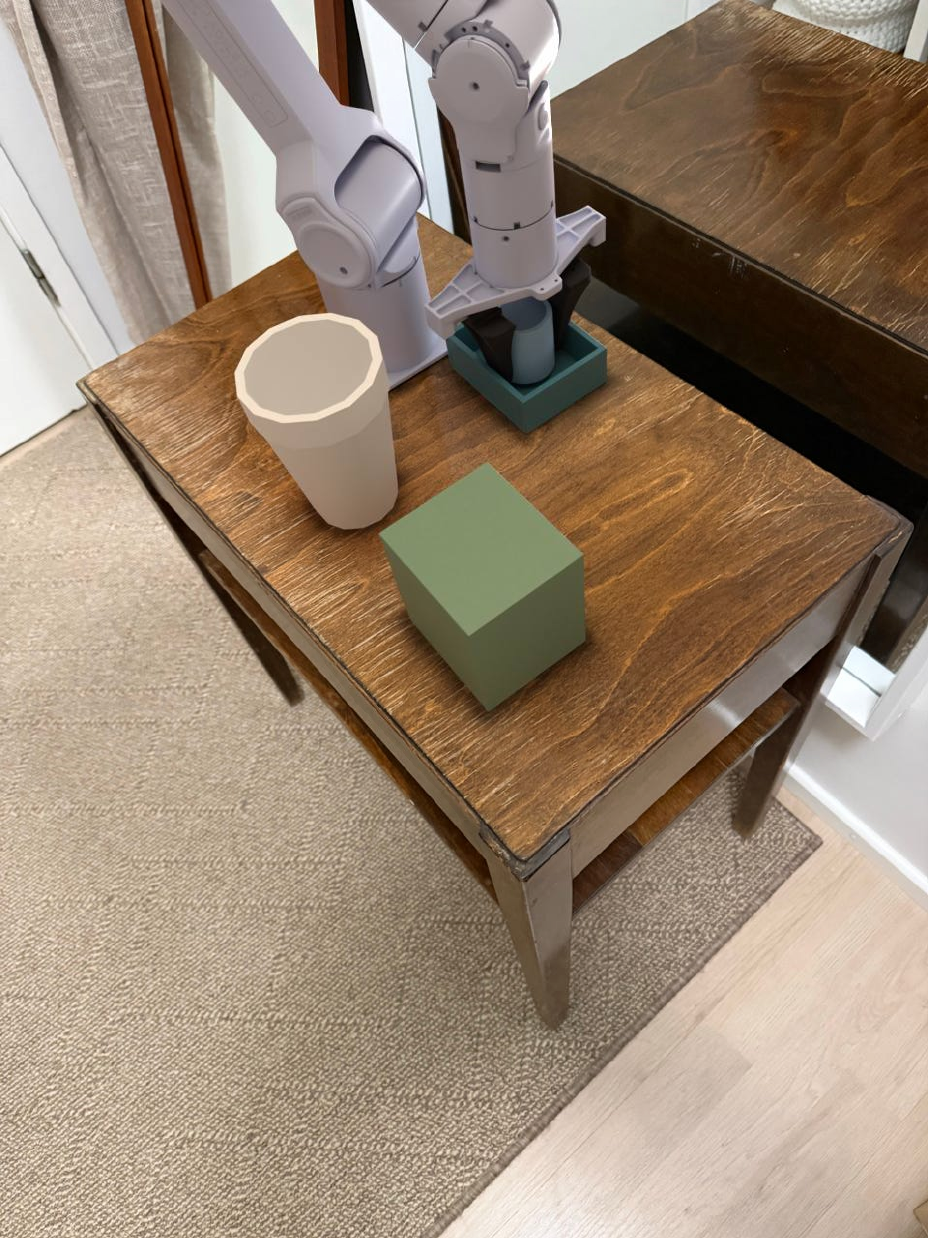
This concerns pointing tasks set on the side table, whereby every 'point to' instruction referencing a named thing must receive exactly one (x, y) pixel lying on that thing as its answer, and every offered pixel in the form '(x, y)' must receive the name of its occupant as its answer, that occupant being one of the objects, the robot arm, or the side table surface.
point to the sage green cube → (489, 583)
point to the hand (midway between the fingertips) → (525, 360)
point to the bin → (542, 400)
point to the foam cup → (325, 413)
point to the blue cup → (531, 339)
